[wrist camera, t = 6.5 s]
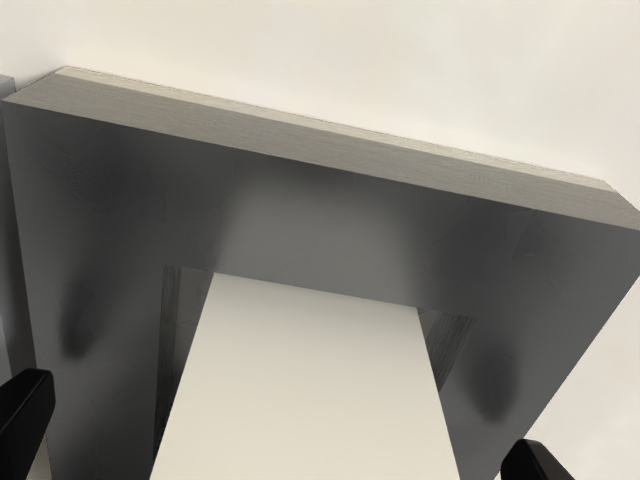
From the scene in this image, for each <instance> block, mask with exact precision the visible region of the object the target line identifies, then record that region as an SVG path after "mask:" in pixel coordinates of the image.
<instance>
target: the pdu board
mask: <svg viewBox="0 0 640 480" xmlns="http://www.w3.org/2000/svg"><path fill="white" fill-rule="evenodd" d="M1 107H2V114H3V122H4V129H5V137H6V144H7V151H8V159H9V166H10V173H11V181H12V188H13V195H14V203H15V210H16V217H17V225H18V232H19V239H20V247H21V254H22V261H23V269H24V276H25V283H26V291H27V298H28V305H29V313H30V320H31V327H32V335H33V342H34V349H35V357H36V364H37V368H38V369H45V370H49V371H51V372H52V373H53V377H54V387H55V396H56V404H55V409H54V412H53V415H52V417H51V419H50V422H49V424H48V427H47V429H46V438H47V445H48V452H49V460H50V467H51V474H52V480H150V476H151V473H152V470H153V467H154V464H155V460H156V457H157V454H158V451H159V448H160V444H161V441H162V438H163V435H164V432H165V428H166V425H167V422H168V419H169V416H170V413H171V409H172V406H173V403H174V400H175V397H176V393H177V390H178V387H179V384H180V381H181V377H182V374H183V371H184V368H185V365H186V361H187V358H188V355H189V352H190V349H191V345H192V342H193V339H194V336H195V333H196V330H197V326H198V323H199V320H200V317H201V314H202V310H203V307H204V304H205V301H206V298H207V294H208V291H209V288H210V285H211V282H212V278H213V275H214V273H220V274H226V275H232V276H238V277H243V278H249V279H255V280H261V281H266V282H272V283H278V284H284V285H289V286H295V287H301V288H307V289H313V290H318V291H324V292H330V293H336V294H341V295H347V296H353V297H359V298H364V299H370V300H376V301H382V302H388V303H393V304H399V305H405V306H411V307H416V309H417V313H418V317H419V321H420V325H421V329H422V332H423V336H424V340H425V344H426V348H427V352H428V356H429V360H430V364H431V368H432V372H433V375H434V379H435V383H436V387H437V391H438V395H439V399H440V403H441V407H442V411H443V415H444V418H445V422H446V426H447V430H448V434H449V438H450V442H451V446H452V450H453V454H454V458H455V461H456V465H457V469H458V473H459V477H460V480H494V478H495V477H496V476H497V474H498V473H499V471H500V468H501V463H502V461H503V459H504V458H505V456H506V455H507V453H508V452H509V451H510V449H511V448H512V446H513V445H514V443H515V442H516V441H517V440H519V439H523V438H524V436H525V435H526V434H527V432H528V431H529V429H530V428H531V427H532V425H533V424H534V422H535V421H536V420H537V418H538V417H539V415H540V414H541V413H542V411H543V410H544V408H545V407H546V406H547V404H548V403H549V401H550V400H551V399H552V397H553V396H554V394H555V393H556V392H557V390H558V389H559V387H560V386H561V385H562V383H563V382H564V380H565V379H566V378H567V376H568V375H569V373H570V372H571V371H572V369H573V368H574V366H575V365H576V364H577V362H578V361H579V359H580V358H581V357H582V355H583V354H584V352H585V351H586V350H587V348H588V347H589V345H590V344H591V343H592V341H593V340H594V338H595V337H596V336H597V334H598V333H599V331H600V330H601V329H602V327H603V326H604V324H605V323H606V322H607V320H608V319H609V317H610V316H611V315H612V313H613V312H614V310H615V309H616V308H617V306H618V305H619V303H620V302H621V301H622V299H623V298H624V296H625V295H626V294H627V292H628V291H629V289H630V288H631V287H632V285H633V284H634V282H635V281H636V280H637V278H638V277H639V275H640V212H639V211H638V210H637V209H636V208H635V207H634V206H633V205H631V204H630V203H629V202H628V201H627V200H626V199H625V198H623V197H622V196H621V195H620V194H619V193H618V192H617V191H615V190H614V189H613V188H612V187H611V186H610V185H608V184H607V183H606V182H605V181H602V180H597V179H592V178H588V177H583V176H578V175H574V174H569V173H564V172H560V171H555V170H550V169H546V168H541V167H536V166H532V165H527V164H523V163H518V162H513V161H509V160H504V159H499V158H495V157H490V156H485V155H481V154H476V153H471V152H467V151H462V150H457V149H453V148H448V147H443V146H439V145H434V144H429V143H425V142H420V141H415V140H411V139H406V138H401V137H397V136H392V135H387V134H383V133H378V132H373V131H369V130H364V129H360V128H355V127H350V126H346V125H341V124H336V123H332V122H327V121H322V120H318V119H313V118H308V117H304V116H299V115H294V114H290V113H285V112H280V111H276V110H271V109H266V108H262V107H257V106H252V105H248V104H243V103H238V102H234V101H229V100H224V99H220V98H215V97H210V96H206V95H201V94H196V93H192V92H187V91H183V90H178V89H173V88H169V87H164V86H159V85H155V84H150V83H145V82H141V81H136V80H131V79H127V78H122V77H117V76H113V75H108V74H103V73H99V72H94V71H89V70H85V69H80V68H75V67H71V66H65V67H63V68H61V69H59V70H57V71H56V72H54V73H52V74H50V75H48V76H46V77H44V78H42V79H40V80H38V81H36V82H34V83H33V84H31V85H29V86H27V87H25V88H23V89H21V90H19V91H17V92H15V93H13V94H11V95H9V96H8V97H6V98H4V99H2V100H1Z"/></svg>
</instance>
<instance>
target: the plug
mask: <svg viewBox="0 0 640 480" xmlns="http://www.w3.org/2000/svg"><path fill="white" fill-rule="evenodd" d="M150 480H460V477H459V473H458V469H457V465H456V461H455V458H454V454H453V450H452V446H451V442H450V438H449V434H448V430H447V426H446V422H445V418H444V415H443V411H442V407H441V403H440V399H439V395H438V391H437V387H436V383H435V379H434V375H433V372H432V368H431V364H430V360H429V356H428V352H427V348H426V344H425V340H424V336H423V332H422V329H421V325H420V321H419V317H418V313H417V309H416V307H411V306H405V305H399V304H393V303H388V302H382V301H376V300H370V299H364V298H359V297H353V296H347V295H341V294H336V293H330V292H324V291H318V290H313V289H307V288H301V287H295V286H289V285H284V284H278V283H272V282H266V281H261V280H255V279H249V278H243V277H238V276H232V275H226V274H220V273H214V275H213V278H212V282H211V285H210V288H209V291H208V294H207V298H206V301H205V304H204V307H203V310H202V314H201V317H200V320H199V323H198V326H197V330H196V333H195V336H194V339H193V342H192V345H191V349H190V352H189V355H188V358H187V361H186V365H185V368H184V371H183V374H182V377H181V381H180V384H179V387H178V390H177V393H176V397H175V400H174V403H173V406H172V409H171V413H170V416H169V419H168V422H167V425H166V428H165V432H164V435H163V438H162V441H161V444H160V448H159V451H158V454H157V457H156V460H155V464H154V467H153V470H152V473H151V476H150Z"/></svg>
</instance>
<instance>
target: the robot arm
mask: <svg viewBox="0 0 640 480" xmlns="http://www.w3.org/2000/svg"><path fill="white" fill-rule="evenodd" d="M55 404H56V396H55V387H54V377H53V373H52V372H51V371H49V370H45V369H38V368H27V369H24V370H22V371H21V372H20V373H18V374H17V375H15V376H14V377H12V378H11V379H9V380H8V381H7V382H5V383H4V384H2V385H1V386H0V480H26V477H27V475H28V473H29V470H30V468H31V465H32V463H33V460H34V458H35V456H36V453H37V451H38V448H39V446H40V444H41V441H42V439H43V436H44V434H45V431H46V429H47V427H48V424H49V422H50V419H51V417H52V415H53V412H54V409H55ZM500 474H501V480H575V479H574V478H573V477H572V476H571V475H570V474H569V472H568V471H567V470H566V469H565V468H564V467H563V466H562V465H561V464H560V463H559V462H558V460H557V459H556V458H555V457H554V456H553V455H552V454H551V453H550V452H549V451H548V449H547V448H546V447H545V446H544V445H543V444H542V443H540V442H538V441H535V440H528V439H519V440H517V441H516V442H515V443H514V445H513V446H512V448H511V449H510V451H509V452H508V453H507V455H506V456H505V458H504V459H503V461H502V463H501V468H500Z"/></svg>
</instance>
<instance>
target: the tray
mask: <svg viewBox="0 0 640 480" xmlns="http://www.w3.org/2000/svg"><path fill="white" fill-rule="evenodd" d="M13 93H15V84H14V78H13V77H8V76H4V75H0V386H1V385H2V384H4V383H5V382H7V381H8V380H9V379H11V378H12V377H14V376H15V375H17V374H18V373H20V372H21V371H22V370H24V369H27V368H37V364H36V357H35V349H34V342H33V335H32V327H31V320H30V313H29V305H28V298H27V291H26V283H25V276H24V269H23V261H22V254H21V247H20V239H19V232H18V225H17V217H16V210H15V203H14V195H13V188H12V181H11V173H10V166H9V159H8V151H7V144H6V137H5V129H4V122H3V114H2V107H1V100H2V99H4V98H6V97H8V96H9V95H11V94H13ZM45 432H46V431H45Z"/></svg>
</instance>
